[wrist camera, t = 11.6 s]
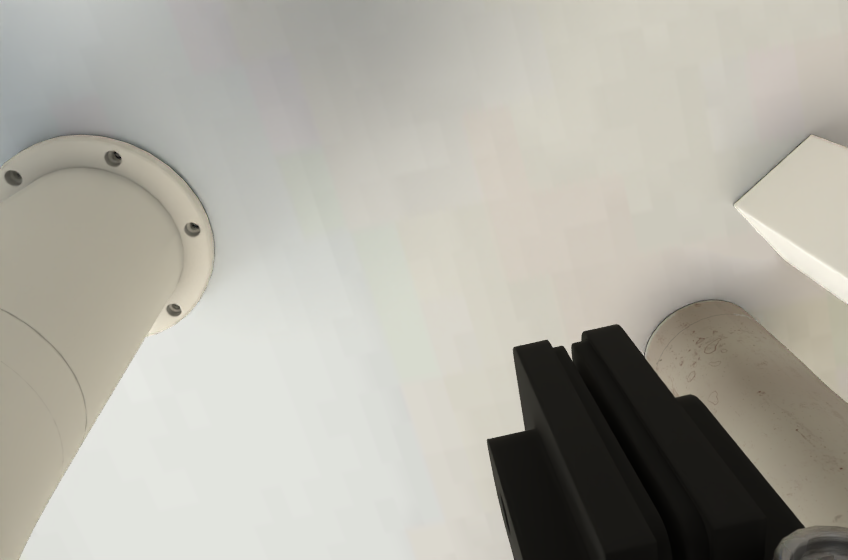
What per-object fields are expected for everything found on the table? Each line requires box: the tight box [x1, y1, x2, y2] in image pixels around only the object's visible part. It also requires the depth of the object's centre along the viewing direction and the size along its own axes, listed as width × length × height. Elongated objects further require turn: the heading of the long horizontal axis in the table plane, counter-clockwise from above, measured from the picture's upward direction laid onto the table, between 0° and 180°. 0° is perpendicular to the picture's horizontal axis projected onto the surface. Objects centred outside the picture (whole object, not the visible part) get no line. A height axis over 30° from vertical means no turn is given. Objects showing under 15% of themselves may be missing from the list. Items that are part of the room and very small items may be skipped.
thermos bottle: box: [645, 300, 848, 528], centre depth 32 cm, size 8×8×28 cm
